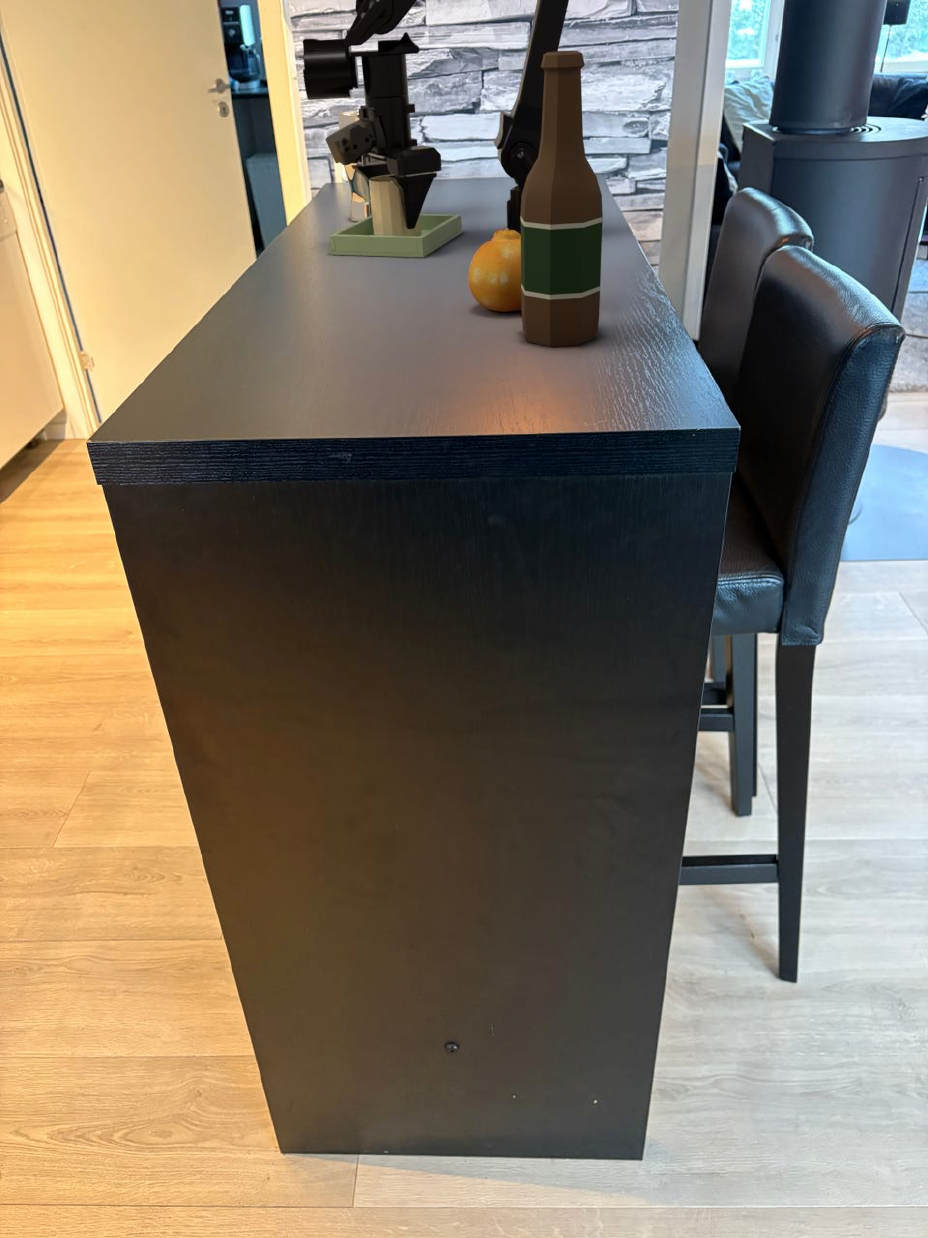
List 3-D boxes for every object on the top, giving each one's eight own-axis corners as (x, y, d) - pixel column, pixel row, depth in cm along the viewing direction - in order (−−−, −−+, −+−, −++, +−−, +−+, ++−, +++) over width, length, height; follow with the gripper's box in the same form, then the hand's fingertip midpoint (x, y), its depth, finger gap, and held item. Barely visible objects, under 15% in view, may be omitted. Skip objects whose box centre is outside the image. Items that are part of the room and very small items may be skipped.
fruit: (496, 269, 106) (482, 212, 99) (562, 281, 103) (553, 222, 96) (466, 323, 103) (450, 268, 96) (533, 337, 100) (521, 281, 93)
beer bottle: (606, 326, 94) (617, 46, 81) (589, 349, 88) (598, 52, 74) (532, 322, 96) (530, 50, 83) (510, 345, 90) (505, 55, 77)
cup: (428, 235, 133) (424, 173, 128) (411, 245, 127) (406, 181, 123) (385, 234, 135) (380, 173, 130) (367, 244, 129) (361, 181, 125)
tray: (462, 232, 135) (461, 214, 134) (423, 257, 123) (422, 237, 122) (376, 230, 139) (375, 213, 138) (330, 254, 127) (328, 235, 126)
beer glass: (385, 222, 145) (375, 113, 136) (342, 222, 146) (330, 114, 138) (396, 213, 150) (388, 108, 142) (355, 214, 152) (344, 109, 143)
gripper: (304, 97, 125) (319, 221, 134) (356, 105, 111) (369, 242, 120) (379, 90, 129) (389, 211, 138) (439, 97, 115) (446, 231, 124)
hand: (396, 223), depth 130 cm, fingers open, 9 cm apart
